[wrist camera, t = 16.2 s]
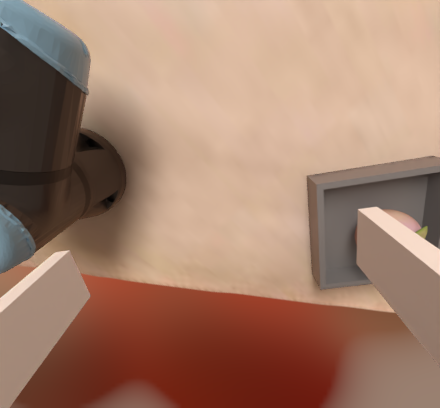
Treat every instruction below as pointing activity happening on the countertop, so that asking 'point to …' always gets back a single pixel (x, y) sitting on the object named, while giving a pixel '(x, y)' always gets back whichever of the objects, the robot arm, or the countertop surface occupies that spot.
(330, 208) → the bin
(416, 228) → the decorative fruit
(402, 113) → the countertop surface
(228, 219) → the countertop surface
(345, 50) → the countertop surface
